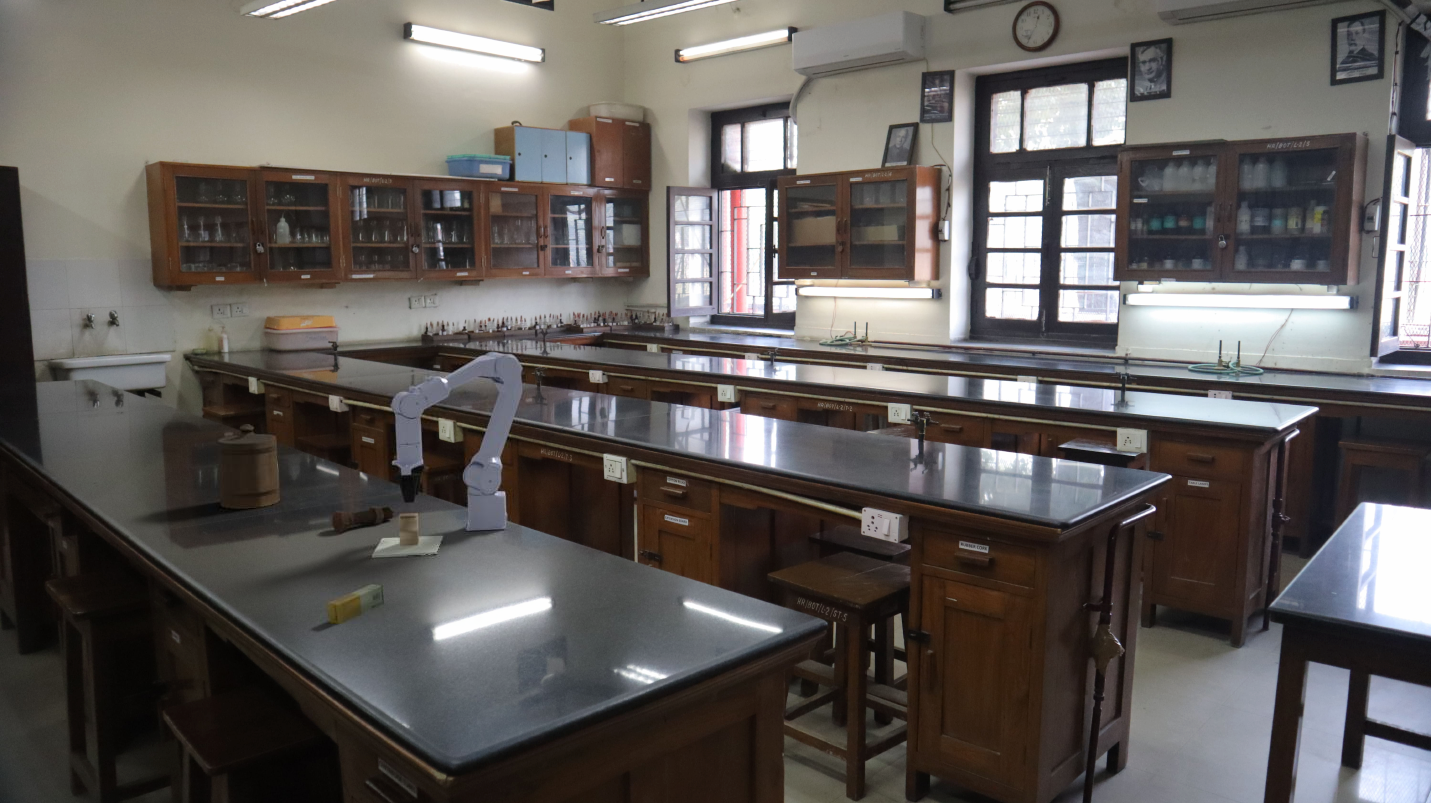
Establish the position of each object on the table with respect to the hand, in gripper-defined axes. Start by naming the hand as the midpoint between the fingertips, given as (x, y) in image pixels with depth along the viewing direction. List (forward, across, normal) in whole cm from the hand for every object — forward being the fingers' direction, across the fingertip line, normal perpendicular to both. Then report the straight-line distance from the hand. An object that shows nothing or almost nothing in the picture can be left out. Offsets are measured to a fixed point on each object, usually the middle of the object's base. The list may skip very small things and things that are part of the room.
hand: (411, 498), depth 231 cm
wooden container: (+10, -45, -49) cm, 67 cm away
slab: (+9, +6, 0) cm, 11 cm away
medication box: (+10, +50, -4) cm, 51 cm away
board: (+10, +8, 0) cm, 12 cm away
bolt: (+10, -15, -14) cm, 23 cm away
